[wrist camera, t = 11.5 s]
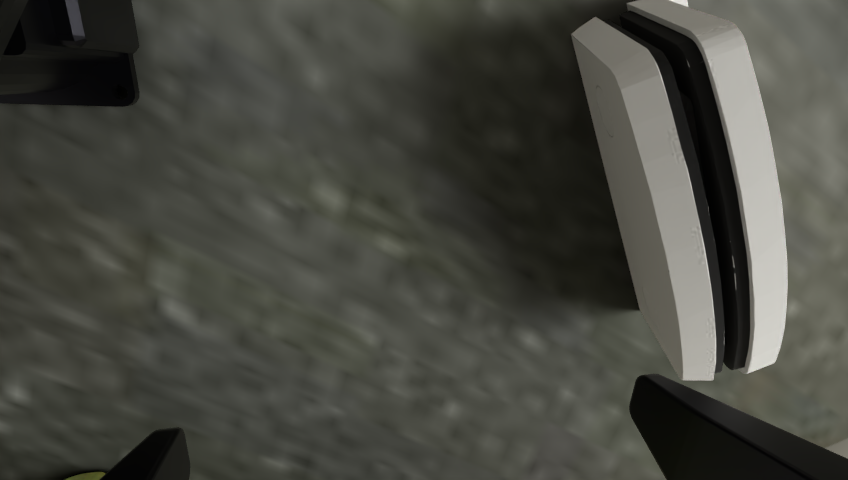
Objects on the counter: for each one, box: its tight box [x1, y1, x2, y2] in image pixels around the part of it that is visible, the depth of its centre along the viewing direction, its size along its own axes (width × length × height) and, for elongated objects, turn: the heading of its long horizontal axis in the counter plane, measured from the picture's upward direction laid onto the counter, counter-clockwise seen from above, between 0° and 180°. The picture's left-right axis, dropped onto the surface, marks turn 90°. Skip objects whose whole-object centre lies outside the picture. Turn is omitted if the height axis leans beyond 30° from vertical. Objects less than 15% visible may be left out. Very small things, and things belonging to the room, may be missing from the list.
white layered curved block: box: [571, 0, 788, 380], centre depth 19 cm, size 17×5×10 cm, turn 23°
